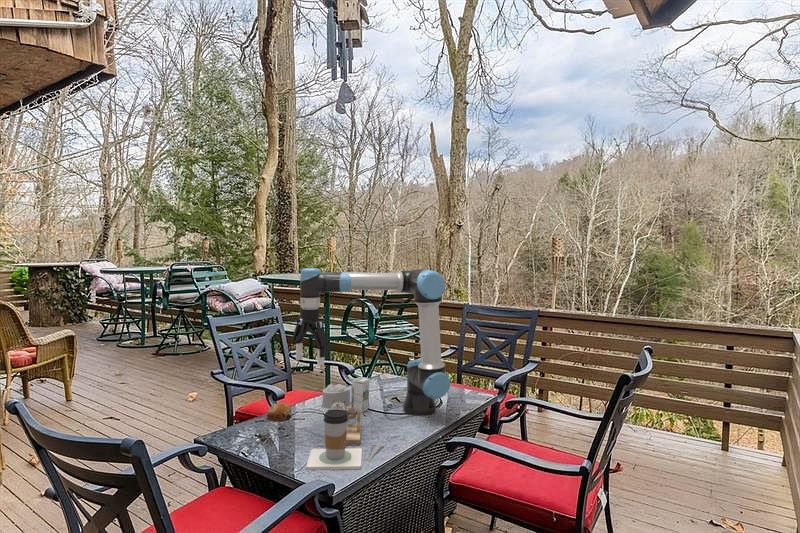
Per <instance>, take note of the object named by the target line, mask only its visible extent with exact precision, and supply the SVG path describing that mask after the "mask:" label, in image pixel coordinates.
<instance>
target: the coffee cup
mask: <svg viewBox="0 0 800 533" xmlns="http://www.w3.org/2000/svg"><path fill="white" fill-rule="evenodd" d="M329 410H330V409H329ZM348 421H349V419H348V415H347V413H346V411H344V410H330V411H326V412H325V413H324V416H323V422H324V423H323V425H324V442H325V445H324V446H325V449H326V456H327V458H328V459H331V460H338V459H341V458H343V457H344V455H345V448H346V447H347V445H346V435H347V424H348Z"/></svg>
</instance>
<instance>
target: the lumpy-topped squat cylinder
mask: <svg viewBox="0 0 800 533" xmlns="http://www.w3.org/2000/svg"><path fill="white" fill-rule="evenodd" d="M333 401H334V402H344V401H345V406H348V405H350V404H351V389H350V387H348V386H346V385H344V384H341V383H337V384H335V385H333V384H332V383H331V384H328V385H327V386H326V387H325V388H323V389H322V401H321V402H322V408H325V409H330V408H331V406H332V405H333V403H334V402H333Z"/></svg>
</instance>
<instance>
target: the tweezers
mask: <svg viewBox="0 0 800 533" xmlns="http://www.w3.org/2000/svg"><path fill="white" fill-rule="evenodd" d="M375 446H376V443H374V444H373V443H372V444H371V447H370V451H369V456H368V459H367V461H366V463H367V464H369V463H370V462H371V460H372V459H373V458H374V457H375V455H376V454H377V453H379V452H380V451H381V449H383V448H384V447H385V445H384V444H380V446H379V447H378V448H377V449H376V450H375V452H374V453H373V454H372V452H373V449H374V447H375ZM382 447H383V448H382ZM371 454H372V456H371Z"/></svg>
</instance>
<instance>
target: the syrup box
mask: <svg viewBox="0 0 800 533" xmlns="http://www.w3.org/2000/svg"><path fill="white" fill-rule="evenodd" d="M351 384H352V386H351V387H352V388H351V390H352V391H351V407H353V408H354V409H355V411H357V410H360V414H363V413H365V412H367V411H368V410H369V406H370V405H369V402H370V378H367V377H363V376H359V377H357V378H354V379H352V383H351Z"/></svg>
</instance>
